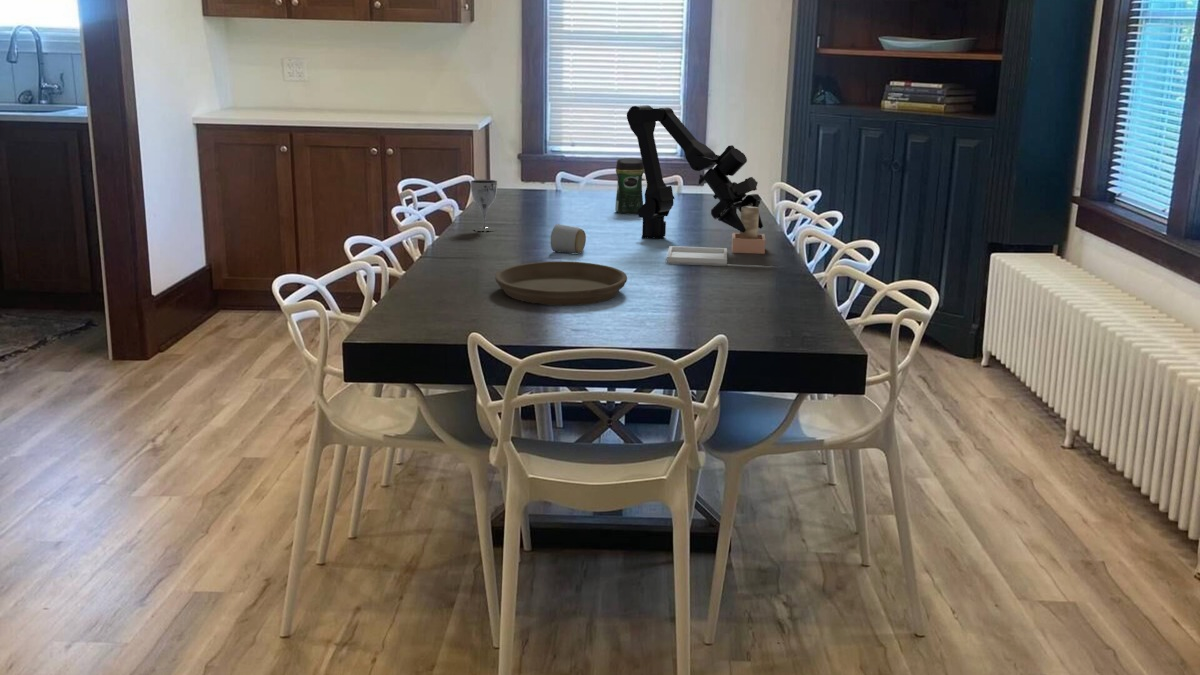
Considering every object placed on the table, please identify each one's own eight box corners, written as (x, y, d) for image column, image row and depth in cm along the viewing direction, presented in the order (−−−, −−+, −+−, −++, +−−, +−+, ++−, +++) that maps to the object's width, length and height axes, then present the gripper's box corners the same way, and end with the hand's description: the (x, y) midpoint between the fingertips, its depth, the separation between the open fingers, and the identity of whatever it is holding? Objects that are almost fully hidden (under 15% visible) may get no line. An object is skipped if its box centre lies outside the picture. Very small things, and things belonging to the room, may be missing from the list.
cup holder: (731, 254, 309) (732, 238, 308) (731, 248, 318) (732, 233, 317) (764, 255, 308) (765, 239, 307) (763, 249, 317) (764, 234, 316)
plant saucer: (580, 315, 240) (580, 295, 239) (468, 296, 256) (467, 277, 255) (650, 289, 266) (651, 271, 265) (544, 273, 282) (544, 256, 280)
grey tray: (666, 263, 295) (666, 257, 295) (669, 252, 310) (669, 246, 310) (726, 266, 294) (727, 259, 293) (726, 254, 309) (726, 248, 308)
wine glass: (466, 231, 338) (466, 181, 334) (479, 227, 345) (478, 179, 341) (489, 233, 335) (489, 183, 331) (501, 229, 342) (501, 180, 338)
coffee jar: (641, 210, 383) (643, 156, 378) (644, 214, 375) (645, 159, 370) (613, 210, 382) (614, 156, 377) (615, 214, 374) (617, 159, 369)
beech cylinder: (739, 251, 311) (741, 208, 308) (738, 248, 316) (741, 206, 312) (757, 251, 310) (759, 209, 307) (756, 248, 315) (758, 206, 312)
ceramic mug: (576, 256, 303) (577, 228, 301) (549, 253, 306) (550, 225, 304) (591, 250, 313) (591, 223, 311) (564, 247, 316) (565, 221, 314)
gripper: (722, 170, 302) (754, 215, 299) (757, 165, 316) (789, 208, 313) (696, 196, 309) (728, 240, 305) (732, 190, 323) (763, 232, 319)
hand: (753, 229), depth 311 cm, fingers open, 9 cm apart
